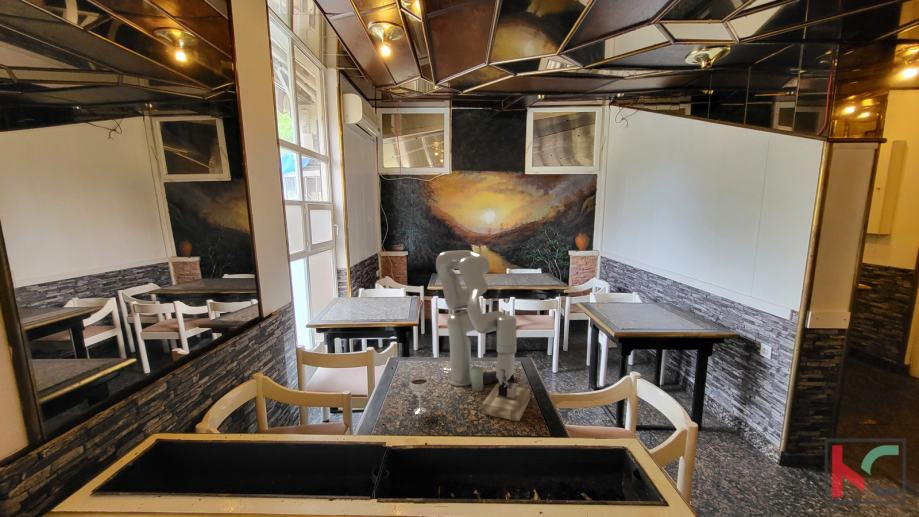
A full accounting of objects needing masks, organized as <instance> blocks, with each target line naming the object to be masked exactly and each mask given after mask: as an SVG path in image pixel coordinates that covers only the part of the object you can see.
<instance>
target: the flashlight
mask: <svg viewBox="0 0 919 517" xmlns="http://www.w3.org/2000/svg"><path fill="white" fill-rule="evenodd" d="M496 373H497V370H494V371H483V385H484V386H485V385H489V384H491V383H494V382H497V381H499V380H498V379H497V377H496ZM513 376H514V377H515V374H514V375H513ZM503 378H506V377H503Z"/></svg>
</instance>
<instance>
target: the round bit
mask: <svg viewBox="0 0 919 517" xmlns="http://www.w3.org/2000/svg"><path fill="white" fill-rule="evenodd" d="M483 372H484V369H483V367H481V366H473V367H471V380H472V384H471V391H472V392H477V393H478V392H482V391H484V384H483Z"/></svg>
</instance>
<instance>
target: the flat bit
mask: <svg viewBox="0 0 919 517" xmlns="http://www.w3.org/2000/svg"><path fill="white" fill-rule="evenodd" d="M503 382H504V383H505V380H503ZM516 385H517V383H515V382H514V383H511V382H507V385H506V386H507V397H504V396H499V398H504V399H510V400H516V387H517V386H516Z"/></svg>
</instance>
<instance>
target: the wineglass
mask: <svg viewBox="0 0 919 517" xmlns="http://www.w3.org/2000/svg"><path fill="white" fill-rule="evenodd" d="M428 381H429V380H428V378H427V377H425V376H418V377H414V378H412V379H410V390H411V392H412V393H413V394H414V395H416V396H418V405H419V407H416V408H415V409H414V410H413V413H414V414H415V415H423V414H425V413H427V411H428V410H427V408H425V407H421V406H422V405H421V401H422V400H421V397H422V395H424V394H425V393H426V392H427V391H428V388H429V384H428Z"/></svg>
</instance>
